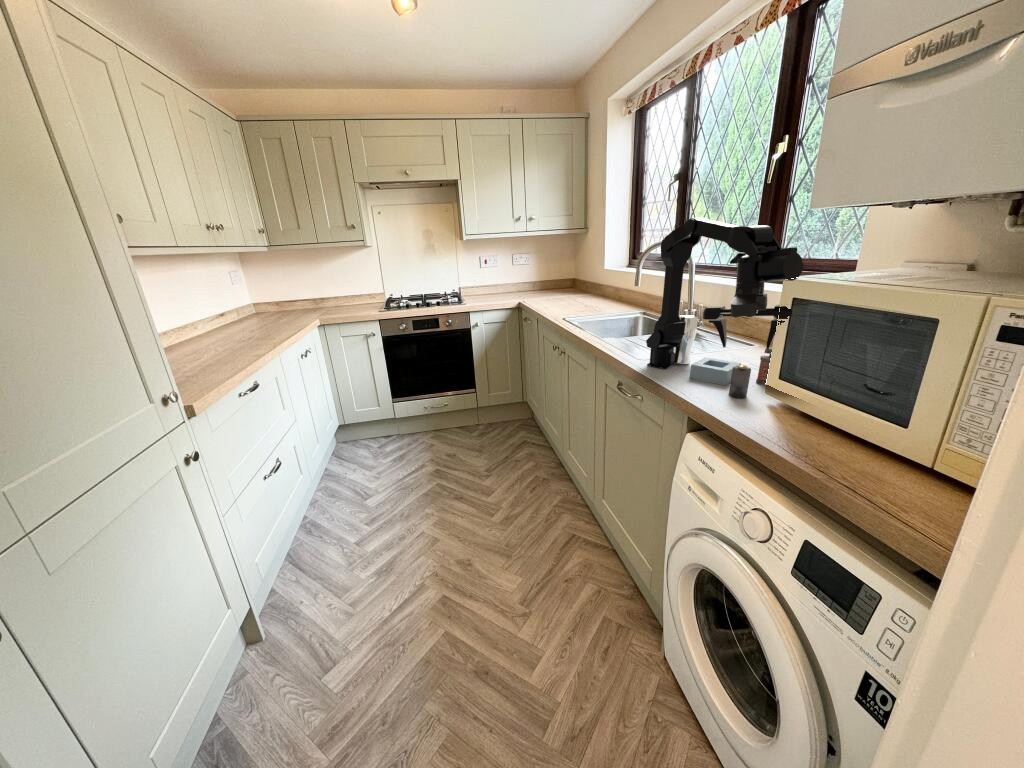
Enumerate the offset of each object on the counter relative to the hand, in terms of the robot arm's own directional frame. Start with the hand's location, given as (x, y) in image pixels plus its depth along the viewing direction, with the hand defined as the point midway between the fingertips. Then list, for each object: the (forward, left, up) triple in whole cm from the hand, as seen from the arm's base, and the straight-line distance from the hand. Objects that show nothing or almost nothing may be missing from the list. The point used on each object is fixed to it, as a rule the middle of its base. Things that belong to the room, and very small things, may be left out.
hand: (745, 348), depth 96 cm
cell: (0, +1, -13) cm, 13 cm away
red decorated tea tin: (+4, +16, -13) cm, 21 cm away
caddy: (-10, +12, -13) cm, 20 cm away
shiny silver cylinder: (-24, +19, -13) cm, 33 cm away
